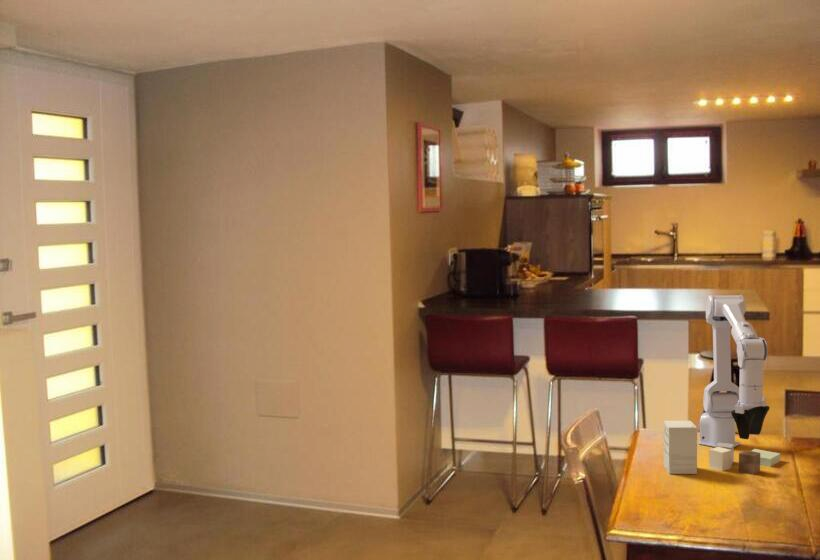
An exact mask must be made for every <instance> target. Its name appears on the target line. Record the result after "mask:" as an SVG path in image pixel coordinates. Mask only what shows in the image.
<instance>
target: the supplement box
mask: <svg viewBox="0 0 820 560" xmlns="http://www.w3.org/2000/svg"><path fill="white" fill-rule="evenodd" d="M663 466H664V469H665V470H666V472H667V473H668V474H669V475H697V474H698V427H697V426H696V425H695V424H694V422H692V421H691V420H663Z"/></svg>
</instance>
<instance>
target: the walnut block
mask: <svg viewBox="0 0 820 560" xmlns="http://www.w3.org/2000/svg"><path fill="white" fill-rule="evenodd" d="M760 471H761V465H760V453H758V452H753V451H752V450H746V449H744V450H743V451H741V452H739V453H738V472H739V473H743V474H746V475H747V474H748V475H752V476H754V475H756V474H758V473H759V472H760Z"/></svg>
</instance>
